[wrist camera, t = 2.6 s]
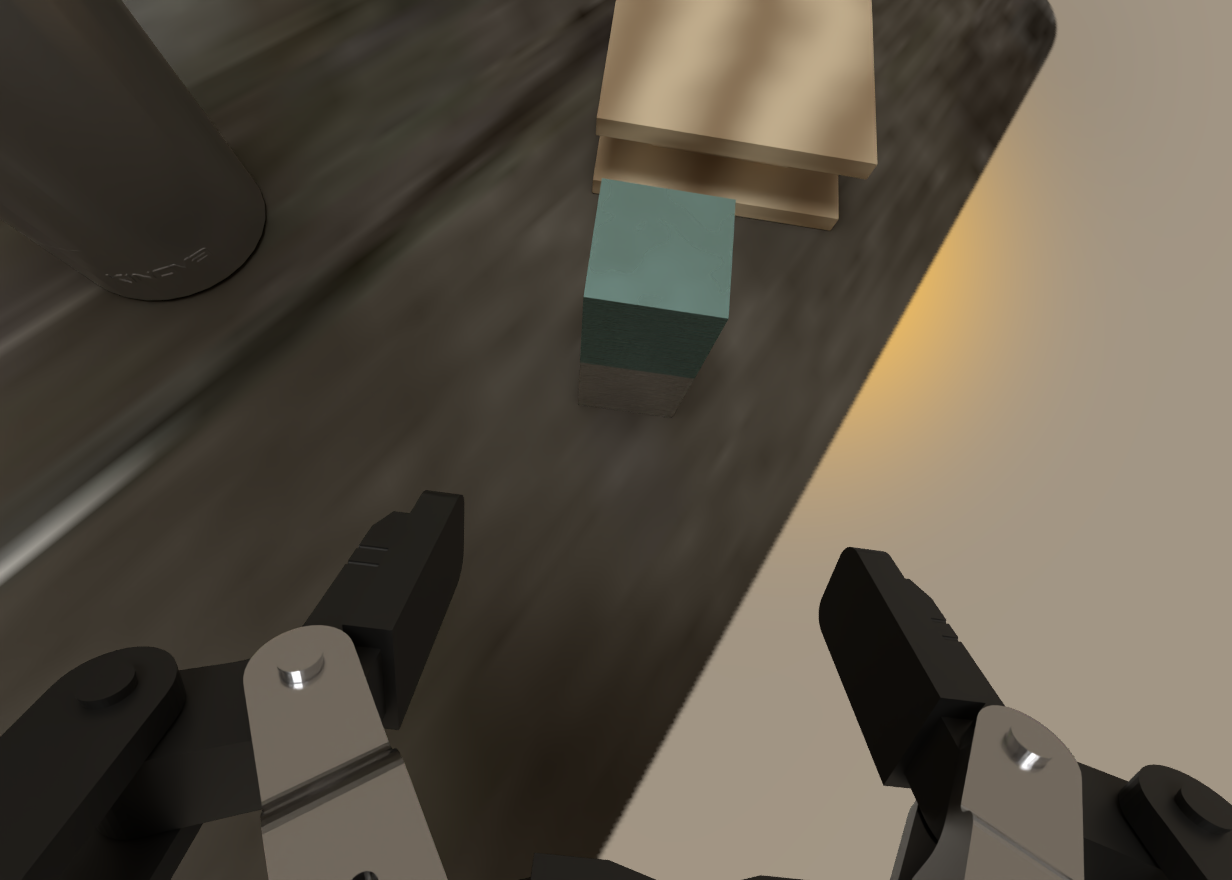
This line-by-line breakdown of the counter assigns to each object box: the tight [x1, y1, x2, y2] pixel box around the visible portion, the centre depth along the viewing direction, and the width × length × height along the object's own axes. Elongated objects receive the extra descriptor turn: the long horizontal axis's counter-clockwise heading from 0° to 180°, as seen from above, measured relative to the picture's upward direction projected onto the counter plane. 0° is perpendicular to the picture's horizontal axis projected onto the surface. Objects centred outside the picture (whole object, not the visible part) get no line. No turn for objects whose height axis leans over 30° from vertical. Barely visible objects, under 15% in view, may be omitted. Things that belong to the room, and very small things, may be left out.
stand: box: [592, 0, 877, 231], centre depth 31 cm, size 14×14×5 cm
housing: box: [578, 178, 736, 418], centre depth 23 cm, size 5×5×10 cm
